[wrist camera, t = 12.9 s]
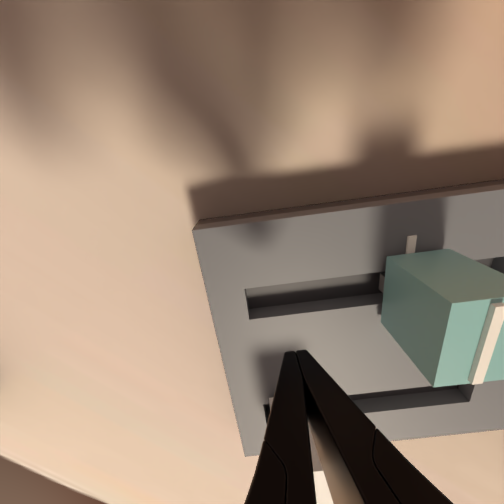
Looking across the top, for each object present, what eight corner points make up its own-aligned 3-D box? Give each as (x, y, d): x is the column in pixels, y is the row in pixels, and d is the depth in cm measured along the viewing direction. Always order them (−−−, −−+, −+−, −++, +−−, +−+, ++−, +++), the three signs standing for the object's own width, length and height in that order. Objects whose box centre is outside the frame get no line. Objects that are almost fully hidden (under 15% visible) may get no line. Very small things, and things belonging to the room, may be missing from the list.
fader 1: (311, 379, 16) (339, 474, 11) (313, 417, 18) (338, 516, 13) (267, 383, 16) (276, 481, 11) (273, 422, 18) (283, 522, 13)
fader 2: (433, 241, 13) (551, 295, 8) (422, 304, 14) (515, 383, 9) (376, 248, 13) (457, 307, 8) (371, 311, 14) (437, 392, 9)
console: (573, 169, 13) (632, 172, 11) (489, 402, 19) (516, 429, 17) (199, 219, 13) (191, 231, 11) (245, 428, 20) (245, 458, 18)
